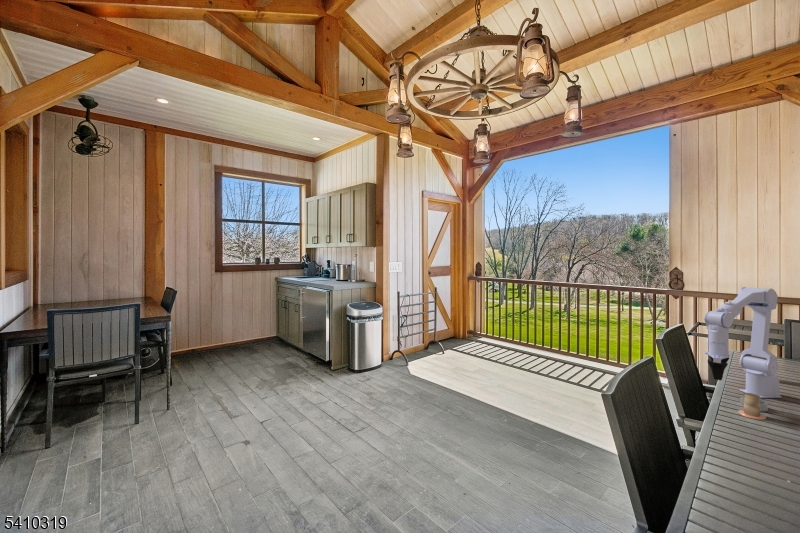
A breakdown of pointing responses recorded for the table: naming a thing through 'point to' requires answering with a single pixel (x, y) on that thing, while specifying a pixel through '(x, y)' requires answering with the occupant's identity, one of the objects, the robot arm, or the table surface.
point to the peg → (752, 404)
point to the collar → (762, 405)
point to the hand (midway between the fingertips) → (718, 377)
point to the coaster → (752, 416)
